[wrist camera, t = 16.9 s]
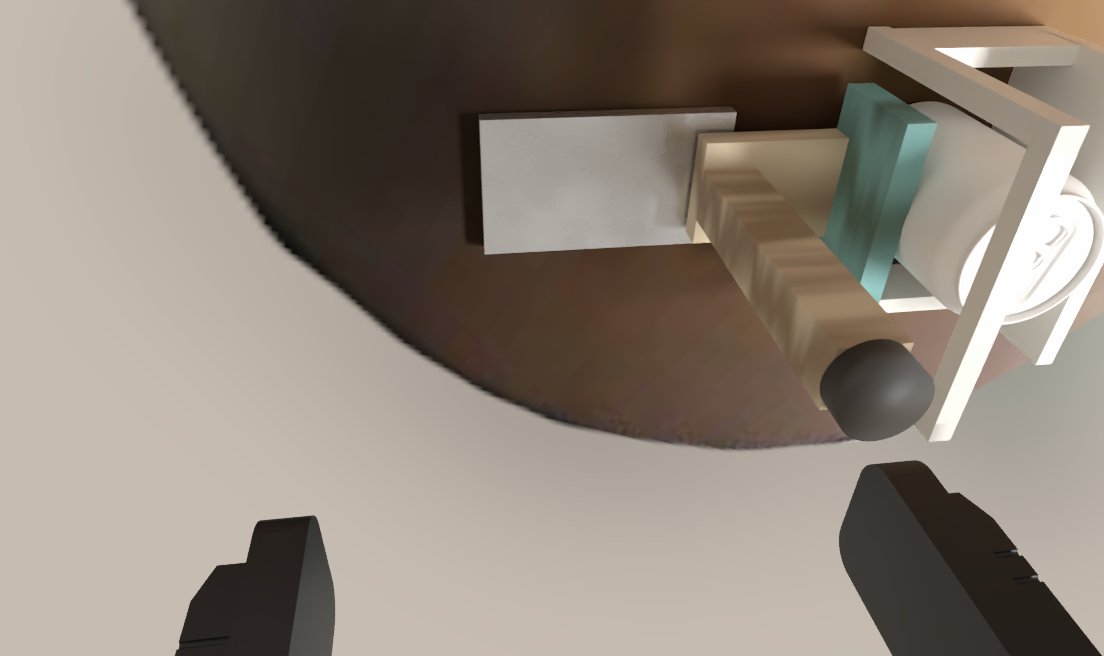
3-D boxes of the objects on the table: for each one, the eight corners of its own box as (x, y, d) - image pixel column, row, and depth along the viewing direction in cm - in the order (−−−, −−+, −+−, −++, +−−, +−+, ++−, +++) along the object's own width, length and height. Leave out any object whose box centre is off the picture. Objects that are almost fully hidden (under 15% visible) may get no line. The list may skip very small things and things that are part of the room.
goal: (868, 26, 40) (1061, 126, 28) (1046, 23, 41) (1304, 117, 29) (803, 283, 49) (927, 442, 37) (950, 274, 51) (1116, 424, 39)
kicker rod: (699, 87, 39) (881, 278, 24) (873, 82, 41) (1155, 261, 25) (675, 267, 46) (807, 511, 30) (827, 259, 47) (1028, 489, 31)
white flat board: (478, 113, 40) (479, 120, 39) (730, 106, 42) (737, 112, 41) (483, 246, 44) (484, 254, 44) (710, 234, 46) (715, 241, 45)
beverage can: (811, 204, 46) (915, 312, 36) (887, 78, 42) (1027, 162, 32) (912, 237, 49) (1034, 347, 39) (994, 122, 44) (1153, 212, 35)
